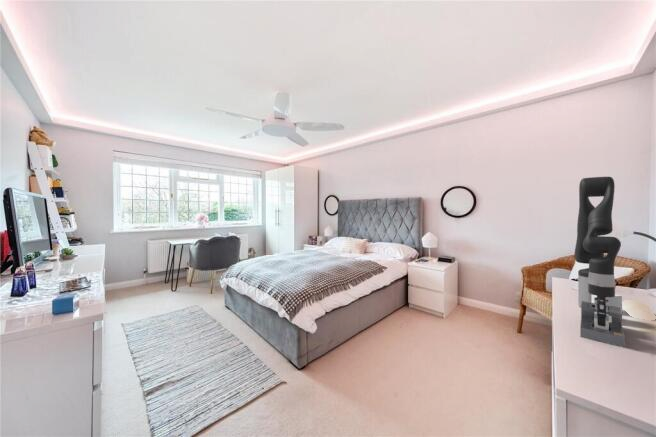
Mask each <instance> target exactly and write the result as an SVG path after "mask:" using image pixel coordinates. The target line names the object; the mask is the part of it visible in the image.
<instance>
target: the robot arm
mask: <svg viewBox="0 0 656 437" xmlns="http://www.w3.org/2000/svg"><path fill="white" fill-rule="evenodd" d="M615 186H616V185H615V180H614V178H613V177H611V176H596V177H593V176H592V177H583V178H582V179H581V180H580V182H579V188H578V194H579V195H578V196H579V199H578V200H579V202H578V203H579V208H578V216H577V226H576V228H577V229H576V231H577V232H576V234H577V235H576V243H575V248H574V254H573V255H574V260H575V261H576V262H577V263H579V264H587V265H588V268H587V267H586V268H582V269H579V270H578V272H577V273H578V276H577V277H578V278H577V279H578V280H577V281H578V284H577V285H578V286H577V288H578V299H577V300H578V303H577V304H578V307H580V308H581V304H582V301H584V302H590V303H592V297H591V294H592V295H596V296H597V297H596V298H595V297H594V302H595V310H597V311H596V312H597V316H598V325H599V326H605V318H606V317H607V316H606V312H608V305H609V302H608V300H607V299H605V298H606V297H614V296H615V294H616V279H615V278H616V277H615V263H616V258H617V256H618V254H619V252H620V250H621V246H622V243H621V241H620V239H619V238H617V237H615V236H607V235H610V234H612V232H613V219H612V217H613V216H612V214H613V208H614V200H615V198H614V197H615ZM594 197H596V198H597V197H600V198H601V197H603V198H602V200H601V201H600V202H599V203H598V205H596V206H594V205H593V204H592V202H591V200H590V198H594ZM605 254H606V255H605ZM600 313H604V314H600Z"/></svg>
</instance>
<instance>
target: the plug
mask: <svg viewBox="0 0 656 437" xmlns="http://www.w3.org/2000/svg"><path fill="white" fill-rule="evenodd" d="M600 314H604V313H600ZM606 316H607V317H606V318H605V326H599V325H598V316H597V312H594V327H596V328H601V329H605V330H609V322H611V323H612V316H609V315H608V314H606Z"/></svg>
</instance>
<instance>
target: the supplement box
mask: <svg viewBox="0 0 656 437" xmlns="http://www.w3.org/2000/svg"><path fill="white" fill-rule="evenodd" d="M591 297H592V303H595V302H594V297H595V298H596V297H597V296H596V295H592V294H591ZM605 299H607V300H608V302H609V305H608V306H614V307H619V308H620V309H621V313H622V314H623V296H622V295H620V294H616V293H615V296H614V297H606V298H605Z"/></svg>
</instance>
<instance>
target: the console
mask: <svg viewBox="0 0 656 437" xmlns="http://www.w3.org/2000/svg"><path fill="white" fill-rule="evenodd" d="M580 311H581V312H580V314H581V315H580V316H581V317H580V327H579V328H580V331H579V332H580V333H579V335H580V338H584V339H588V340H592V341H596V342H600V343H605V344H608V345H611V346H616V347H620V346H621V347H620V348H624V347H625V348H626V336H625V333H624V329H623V324H622V323H623V312H622V313H621V309H620V308H619V307H614V306H608V312H606V314H608V315H609V316H612V323H611V322H609V330H605V329H601V328H596V327H594V312H596V311H597V310H595V303H590V302H584V301H582V304H581V307H580Z"/></svg>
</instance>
